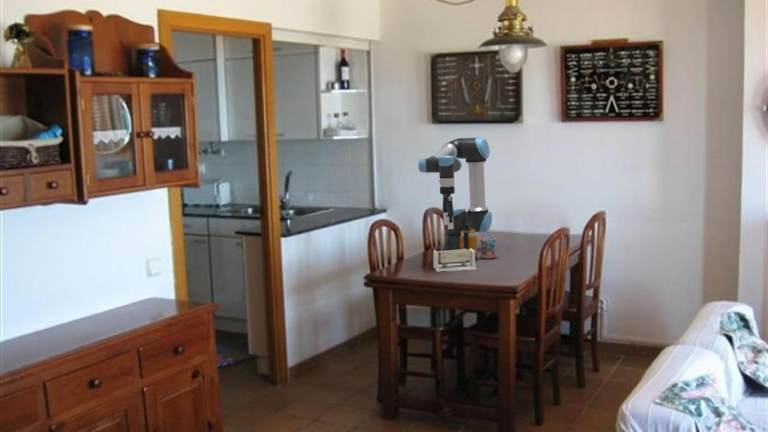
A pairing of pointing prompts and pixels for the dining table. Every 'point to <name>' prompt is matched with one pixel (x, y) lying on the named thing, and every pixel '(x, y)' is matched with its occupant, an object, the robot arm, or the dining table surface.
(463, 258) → the cream long box
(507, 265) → the dining table surface
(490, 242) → the mug
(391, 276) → the dining table surface
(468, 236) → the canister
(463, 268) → the cradle
